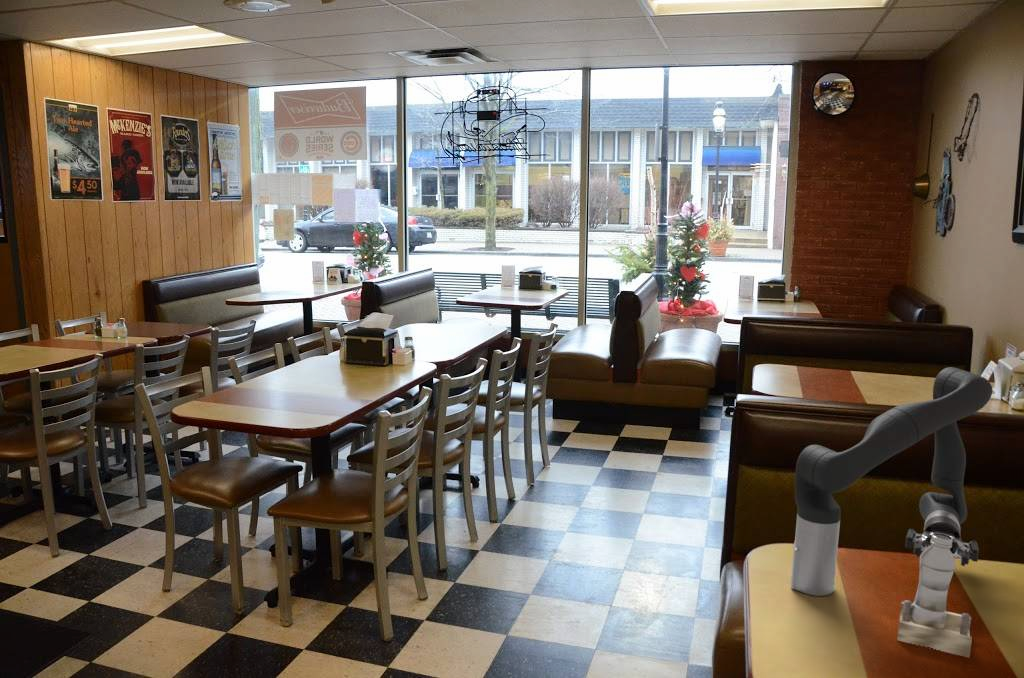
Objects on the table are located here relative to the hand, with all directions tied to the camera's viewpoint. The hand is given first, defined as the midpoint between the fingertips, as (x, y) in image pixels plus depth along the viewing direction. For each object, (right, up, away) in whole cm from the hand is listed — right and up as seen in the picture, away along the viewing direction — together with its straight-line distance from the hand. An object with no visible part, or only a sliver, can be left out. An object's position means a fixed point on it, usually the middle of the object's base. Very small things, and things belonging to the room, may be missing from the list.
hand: (941, 557), depth 177 cm
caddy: (-6, -15, -7) cm, 17 cm away
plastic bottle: (-7, -13, -7) cm, 16 cm away
